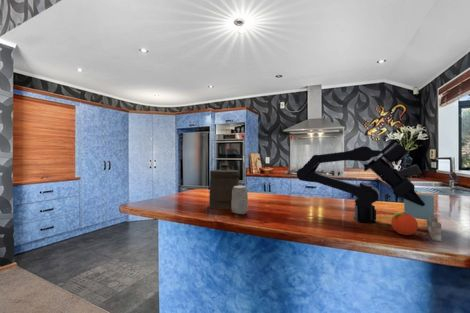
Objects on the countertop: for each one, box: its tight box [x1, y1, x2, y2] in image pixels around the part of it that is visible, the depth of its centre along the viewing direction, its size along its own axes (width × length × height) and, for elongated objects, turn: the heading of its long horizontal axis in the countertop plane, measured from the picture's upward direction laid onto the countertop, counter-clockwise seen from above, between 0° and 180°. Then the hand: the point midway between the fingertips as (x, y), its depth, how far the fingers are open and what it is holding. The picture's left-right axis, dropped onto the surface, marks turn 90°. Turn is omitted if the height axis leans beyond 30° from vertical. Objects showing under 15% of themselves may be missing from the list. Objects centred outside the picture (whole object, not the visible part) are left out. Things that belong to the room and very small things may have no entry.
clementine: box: [390, 212, 419, 236], centre depth 74 cm, size 8×7×7 cm
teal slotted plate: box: [403, 193, 435, 229], centre depth 80 cm, size 8×2×11 cm, turn 55°
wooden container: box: [208, 162, 240, 210], centre depth 115 cm, size 15×15×22 cm
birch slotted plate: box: [427, 216, 442, 242], centre depth 72 cm, size 2×10×5 cm, turn 145°
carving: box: [231, 185, 249, 215], centre depth 100 cm, size 6×8×12 cm
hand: (423, 204), depth 79 cm, fingers closed on teal slotted plate, 2 cm apart
